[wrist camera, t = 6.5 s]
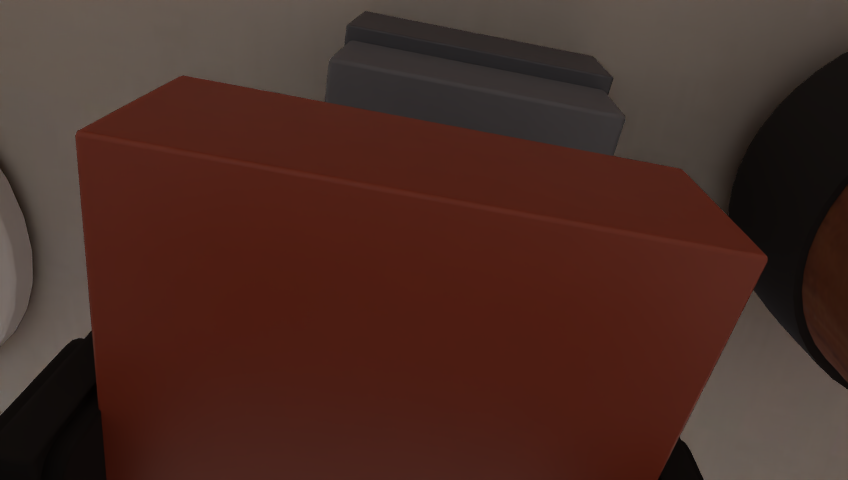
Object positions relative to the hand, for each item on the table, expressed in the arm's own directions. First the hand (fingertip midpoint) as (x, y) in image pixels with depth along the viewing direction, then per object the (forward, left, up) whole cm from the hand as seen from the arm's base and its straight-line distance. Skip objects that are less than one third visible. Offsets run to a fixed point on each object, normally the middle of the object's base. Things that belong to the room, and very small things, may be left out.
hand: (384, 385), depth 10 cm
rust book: (0, 0, 0) cm, 0 cm away
